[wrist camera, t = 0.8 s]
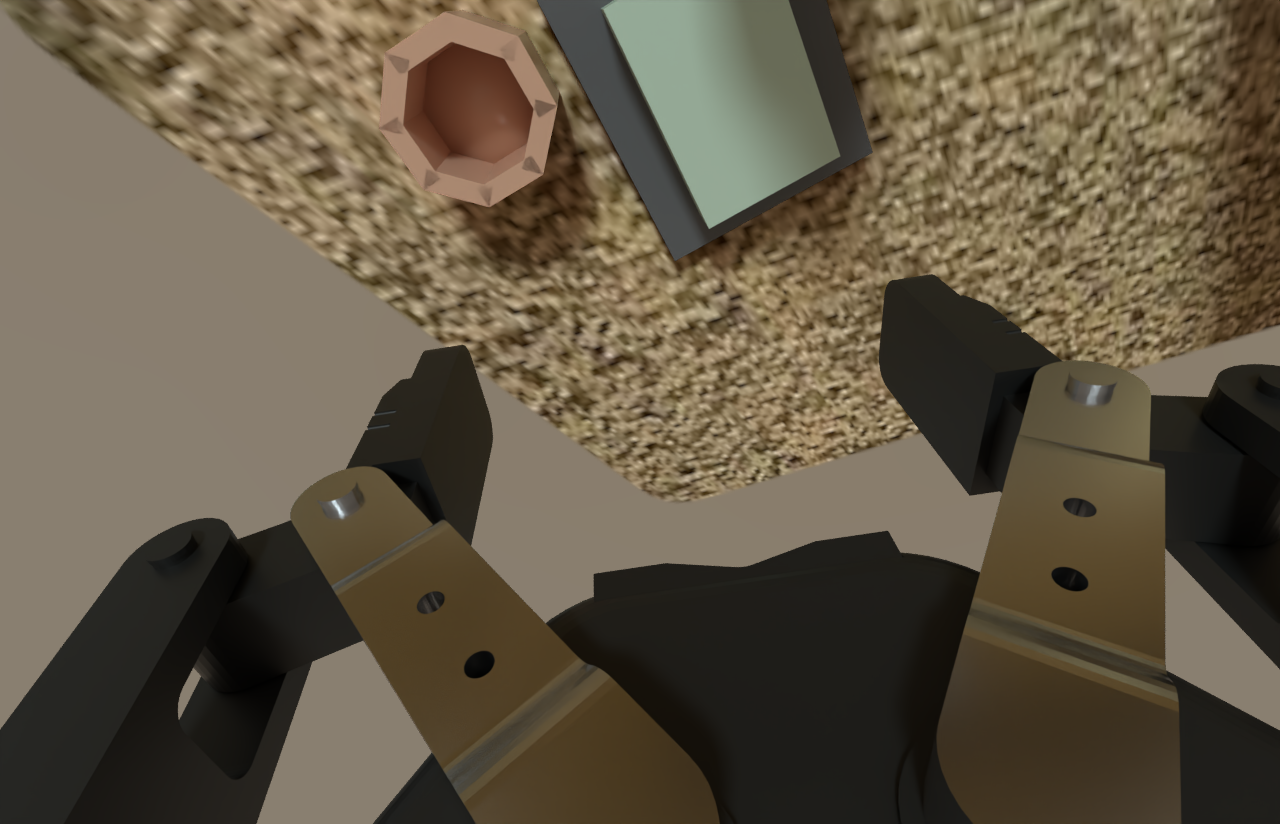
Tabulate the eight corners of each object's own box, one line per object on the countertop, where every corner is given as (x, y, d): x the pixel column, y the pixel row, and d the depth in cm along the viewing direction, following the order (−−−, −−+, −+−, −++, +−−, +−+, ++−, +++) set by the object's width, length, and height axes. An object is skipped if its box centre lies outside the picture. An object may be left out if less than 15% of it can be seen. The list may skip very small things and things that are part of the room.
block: (741, -83, 23) (758, -92, 21) (820, 144, 28) (840, 156, 26) (600, 8, 24) (603, 9, 22) (699, 212, 29) (709, 229, 27)
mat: (768, -159, 23) (776, -165, 22) (863, 148, 29) (872, 152, 28) (536, -3, 25) (535, -3, 24) (672, 254, 31) (675, 260, 30)
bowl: (500, -16, 25) (487, -19, 21) (581, 130, 28) (582, 150, 24) (377, 68, 26) (344, 80, 22) (468, 200, 29) (452, 229, 25)
